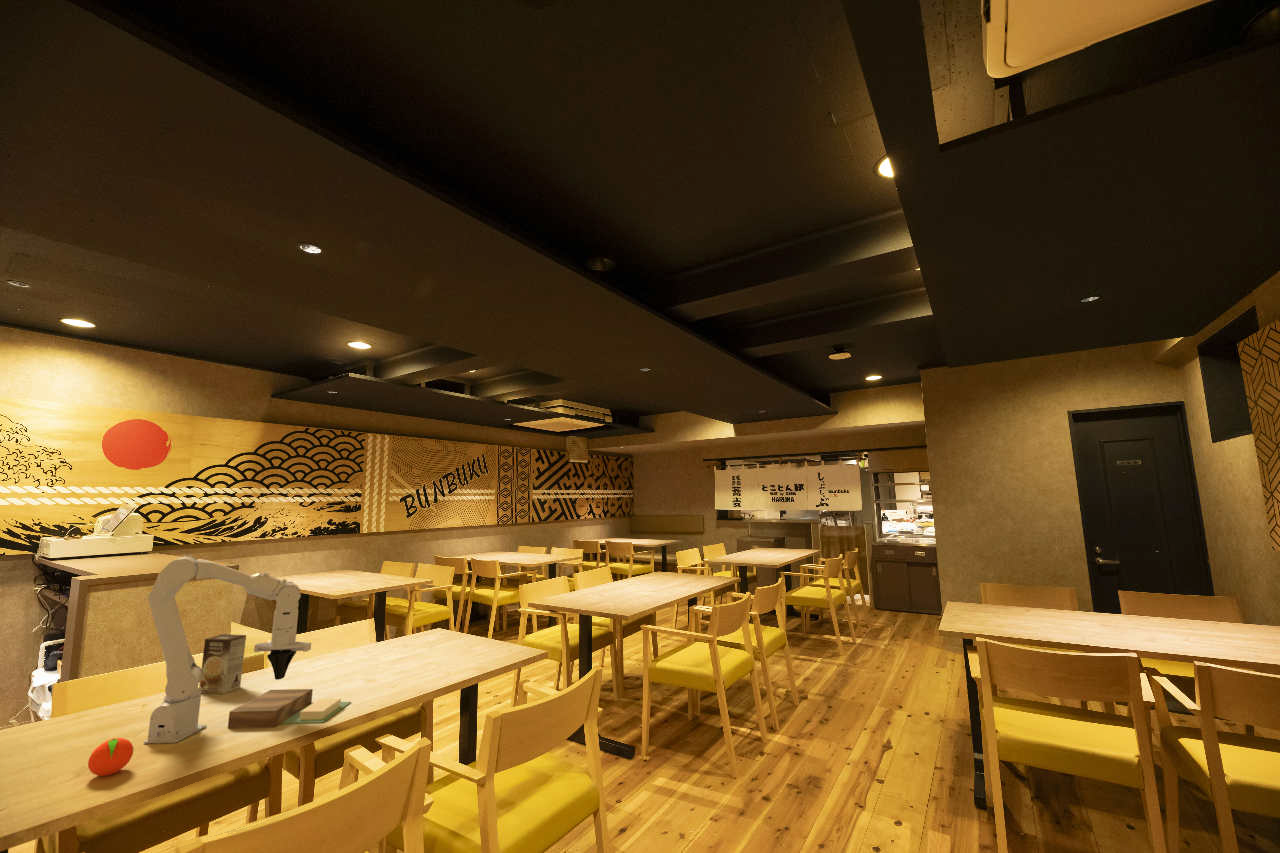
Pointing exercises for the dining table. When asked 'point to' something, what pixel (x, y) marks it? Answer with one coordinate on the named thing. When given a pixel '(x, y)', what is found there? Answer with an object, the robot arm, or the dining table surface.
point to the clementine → (110, 756)
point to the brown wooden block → (270, 708)
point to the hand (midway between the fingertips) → (279, 678)
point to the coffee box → (222, 663)
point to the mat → (295, 719)
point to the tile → (320, 709)
